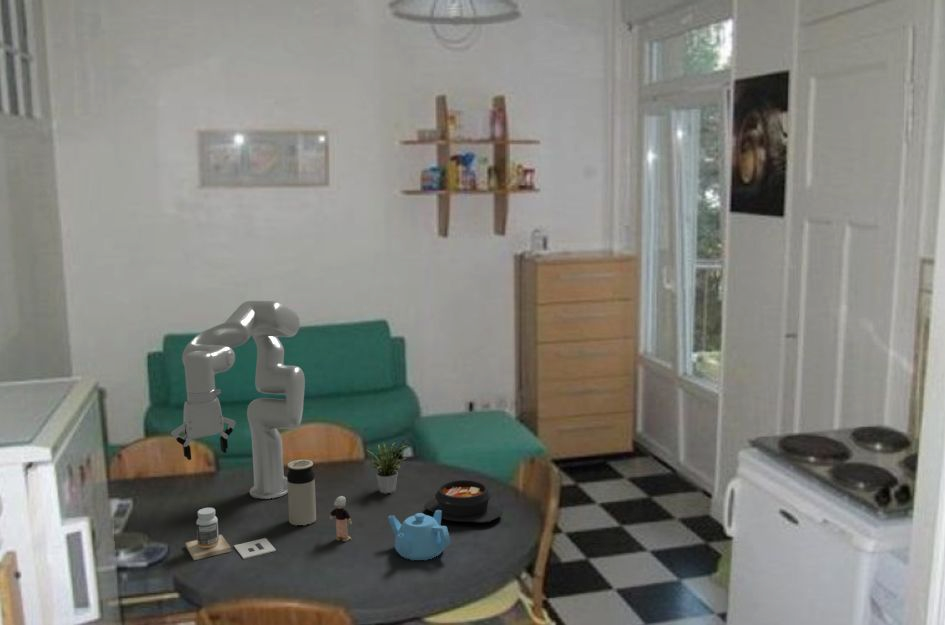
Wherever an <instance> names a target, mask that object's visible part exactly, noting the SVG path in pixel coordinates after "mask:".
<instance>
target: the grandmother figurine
mask: <svg viewBox="0 0 945 625" xmlns="http://www.w3.org/2000/svg"><path fill="white" fill-rule="evenodd" d="M346 500H347V499H346V497H345V496H343V495H339V496H338V497H337V498H336V499H335V500H334V502H333V505H334V506H335V507H337V508H334V509H333V510H332V511H331V512H330V514H329V519H330V520H333V519H334V517H335V519H336V522H335V530H336V537H335V540H336V539H337V540H336V541H340V540H339V539H341V538H343V539H341V541H342V540H343V541H346V540H349V539H351V540H352V537H351V536H350V535H349V532H348V531H349V530H348V526H351V525H352V524H353V522H352V519H351V516H350V513H349V512H348V510H347V509H345V508H346V502H347V501H346ZM343 541H342V542H343ZM346 542H347V541H346Z"/></svg>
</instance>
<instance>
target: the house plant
mask: <svg viewBox="0 0 945 625" xmlns="http://www.w3.org/2000/svg"><path fill="white" fill-rule="evenodd" d="M395 444H396V442H393V443H392V444H391V447H390V450H389V449H388V447H387V446H386V443H385V442H382V445H383V448H384V449H383V448H382V446H381V445H380V444H377V447H378V451H379V452H378V453H379V456H380V457H378V456H377V455H376V454H375V453H373V452H372V451H370V450H368V449H367V450H366V449H365V451H366V452H369V453H370V454H371V455H372V456H374V458H375V459H376V460H377V461H378V462H377V461H374V460H373V459H370V461H371V462H372V463H373V464H370V465H369V467H372V468H374V469H376V470H377V472H376V474H375V475H376V479H377V480H376V481H377V485H378V490H380V491H381V492H391V491H394V490H395V489H396V488H397V481H398V480H397V479H398V474H399V472H398V471H399V470H398V468H399V469H400V468H401V465H400V463H401V462H403V460H406V459H407V457H404V458H402V459H399V457H400V456H401V455H402V454H404V453H405V452H406V453H407V450H405V451H401V452H400V450H402V449H403V448H405V447H408V446H409V445H408V444H406V445H402V446H401V447H399V448H398V449H396V451H395V453H394V450H395ZM395 464H396V465H395ZM380 491H379V492H380ZM395 491H396V490H395Z"/></svg>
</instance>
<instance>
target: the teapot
mask: <svg viewBox="0 0 945 625" xmlns="http://www.w3.org/2000/svg"><path fill="white" fill-rule="evenodd" d="M441 515H442V511H441V510H437V511H435V514H434V513H433V515H432V516H430V515H427V514H424V513H423V512H417V513H415V514H414V515H411V516H408V517H407V518H406V519H405V520H404V521H403V522H402V524H401V522H400V521H399V519H397V518H396V515H389V516H388V517H387V519H388V521H389V524H390V527H391V530H392V532H393V534H394V538H395V539H394V540H395V541H394V548H395V551H396V552H397V553H398V554H399V555H400V557H402V558H403V557H404V559H406V558H407V559H406V560H408V559H410V560H409V561H414V560H424V561H428V559H430V560H433V559H435V558H437V557H438V556H439V555H441V553H443V551H444V550H445V549H446V548H447V547H448V546H449V545H450V544H452V541H451V538H450V537H451V536H450V534H449V531H448V527H447V526H446V525H441V523H442V518H441ZM436 556H437V557H436ZM434 557H435V558H434ZM432 558H433V559H432Z"/></svg>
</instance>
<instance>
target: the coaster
mask: <svg viewBox="0 0 945 625" xmlns="http://www.w3.org/2000/svg"><path fill="white" fill-rule="evenodd" d="M184 544H185V548H186V549H187V551H188V553H189V554H190V556H191V557H192V560H193V561H196V560H197V561H198V560H201V559H205V558H210V557H214V556H218V555H222V554H226V553H231V552H232V547H231V545H230V543H228V541H227V540H226V539H225V538H224V536H223V535H222V534H219V543H218V544H217V545H216V546H214V547H211V548H201V547H199V546H198V541H197V539H196V540H190V541H187V542H185V543H184Z"/></svg>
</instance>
